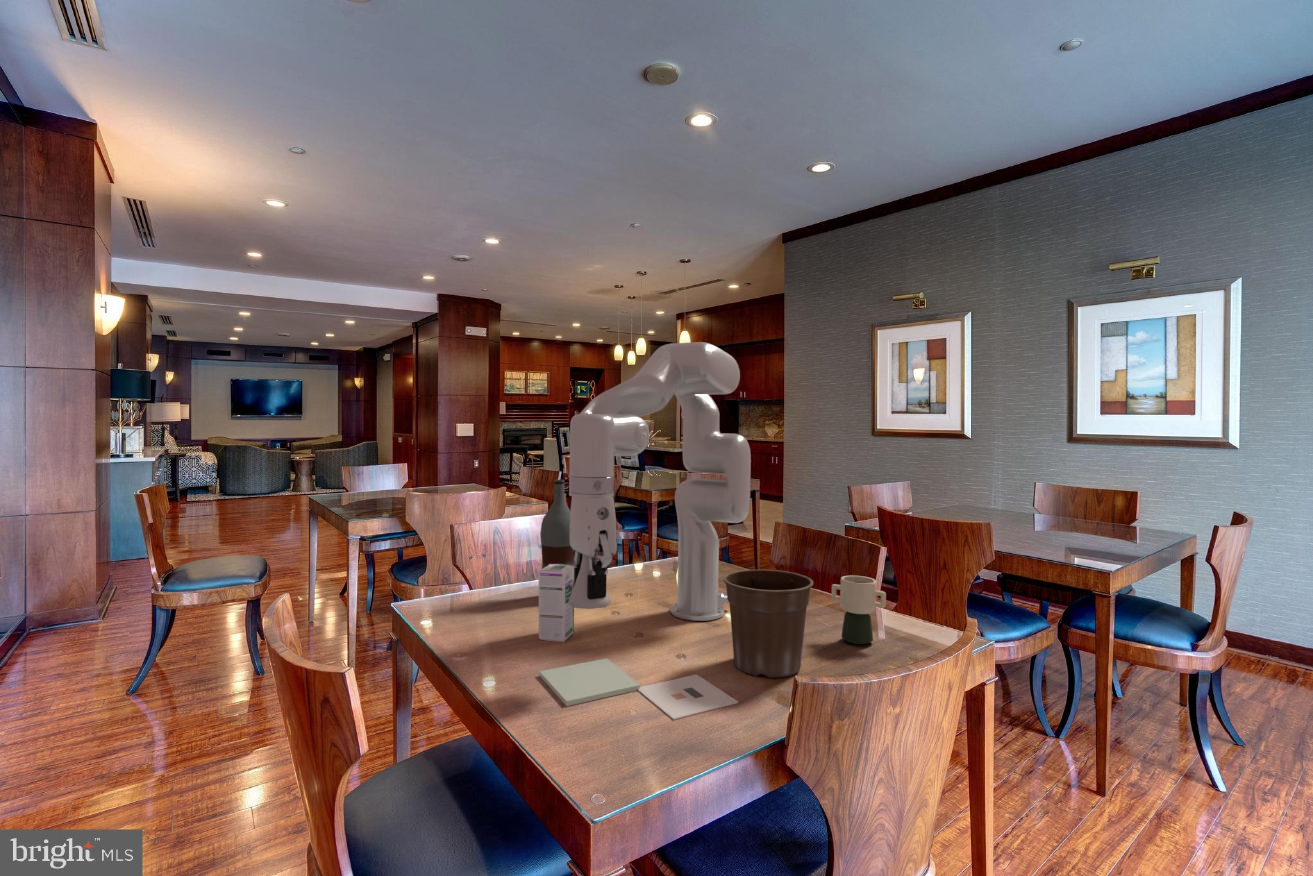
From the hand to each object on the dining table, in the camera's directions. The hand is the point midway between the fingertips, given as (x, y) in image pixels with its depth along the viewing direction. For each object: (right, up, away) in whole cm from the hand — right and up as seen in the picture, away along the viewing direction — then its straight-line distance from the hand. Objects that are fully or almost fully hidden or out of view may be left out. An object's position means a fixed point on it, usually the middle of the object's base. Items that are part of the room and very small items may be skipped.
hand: (589, 592), depth 102 cm
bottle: (-14, -15, +50) cm, 54 cm away
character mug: (+53, -16, +22) cm, 60 cm away
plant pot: (+32, -16, +9) cm, 37 cm away
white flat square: (+16, -16, -4) cm, 23 cm away
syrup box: (-9, -15, +23) cm, 29 cm away
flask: (0, -2, 0) cm, 2 cm away
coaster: (0, -15, 0) cm, 15 cm away
